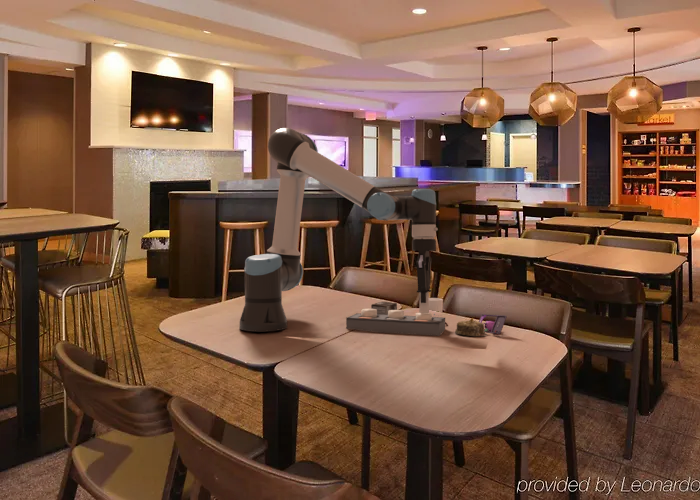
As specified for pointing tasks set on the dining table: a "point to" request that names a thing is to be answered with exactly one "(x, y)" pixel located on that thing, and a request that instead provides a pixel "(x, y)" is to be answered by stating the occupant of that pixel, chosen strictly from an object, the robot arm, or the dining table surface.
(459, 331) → the beige textured round piece
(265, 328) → the robot arm
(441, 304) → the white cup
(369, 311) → the button left
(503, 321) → the purple toy box
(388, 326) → the console
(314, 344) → the dining table surface
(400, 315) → the button middle
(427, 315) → the button right
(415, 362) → the dining table surface
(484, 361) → the dining table surface
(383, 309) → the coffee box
